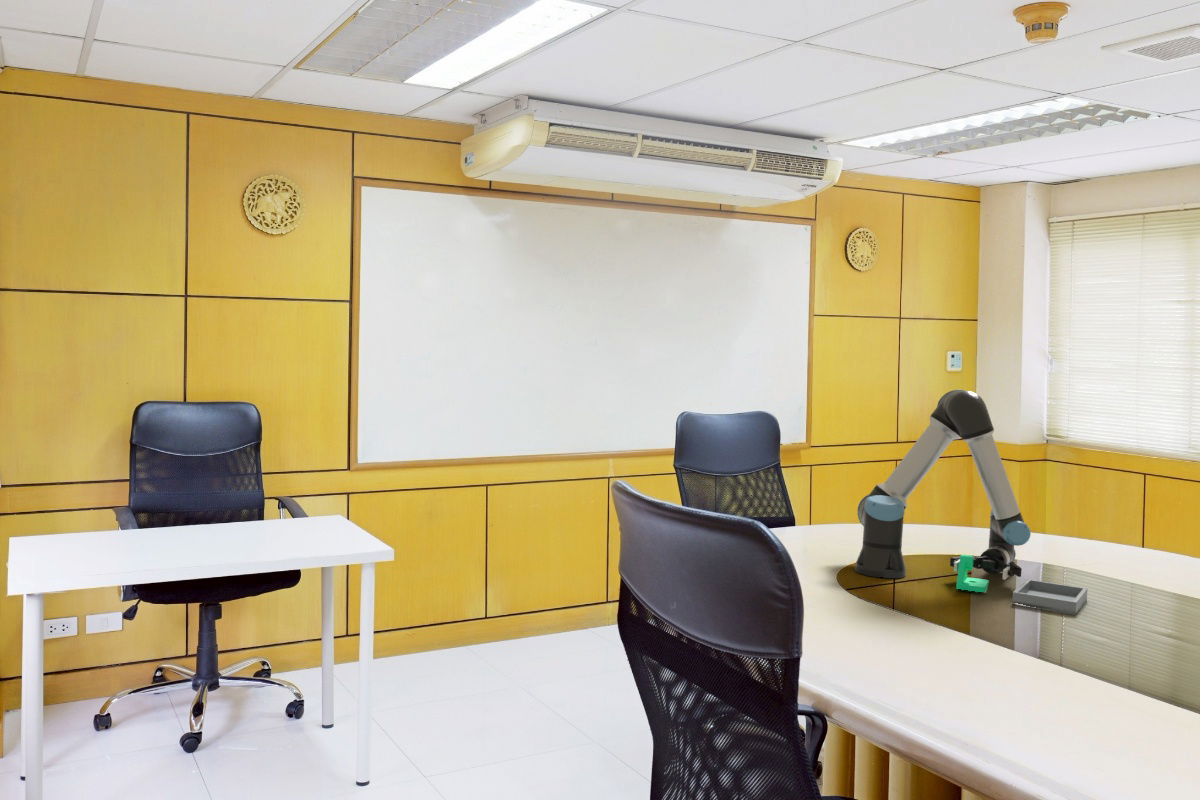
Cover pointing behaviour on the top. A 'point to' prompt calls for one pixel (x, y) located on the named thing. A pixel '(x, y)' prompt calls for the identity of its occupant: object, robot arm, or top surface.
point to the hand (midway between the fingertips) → (979, 571)
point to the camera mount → (969, 582)
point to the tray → (1051, 596)
